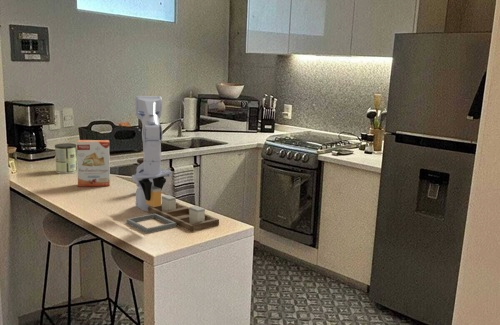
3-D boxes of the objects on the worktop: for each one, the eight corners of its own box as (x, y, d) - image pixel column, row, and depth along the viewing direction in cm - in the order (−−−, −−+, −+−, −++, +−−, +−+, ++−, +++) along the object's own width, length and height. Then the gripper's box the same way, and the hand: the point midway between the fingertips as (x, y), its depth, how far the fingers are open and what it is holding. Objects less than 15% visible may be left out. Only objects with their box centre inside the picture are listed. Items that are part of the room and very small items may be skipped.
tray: (126, 225, 168) (126, 219, 168) (155, 219, 176) (155, 213, 175) (146, 235, 158) (146, 229, 158) (176, 228, 166) (176, 222, 166)
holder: (148, 213, 182) (147, 206, 181) (174, 208, 190) (174, 201, 189) (191, 233, 162) (191, 225, 161) (219, 227, 170) (219, 219, 169)
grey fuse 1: (161, 211, 183) (161, 196, 182) (168, 210, 185) (168, 194, 184) (169, 214, 179) (169, 199, 178) (175, 213, 181) (175, 197, 180)
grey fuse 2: (189, 223, 170) (189, 207, 169) (196, 221, 172) (196, 205, 171) (197, 227, 166) (197, 210, 165) (204, 225, 168) (204, 208, 167)
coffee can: (61, 169, 254) (60, 142, 251) (80, 170, 253) (79, 143, 250) (52, 173, 244) (50, 145, 241) (71, 174, 243) (70, 146, 240)
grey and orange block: (145, 203, 166) (145, 186, 165) (153, 202, 168) (153, 185, 167) (153, 207, 163) (153, 189, 161) (161, 205, 165) (161, 188, 163)
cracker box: (77, 187, 217) (76, 141, 213) (78, 184, 223) (77, 139, 219) (110, 186, 221) (109, 141, 217) (110, 183, 227) (109, 139, 223)
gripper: (139, 164, 155) (139, 205, 158) (176, 160, 165) (176, 198, 167) (128, 161, 160) (128, 200, 163) (165, 157, 170) (165, 194, 173)
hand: (152, 199), depth 165 cm, fingers closed on grey and orange block, 3 cm apart
